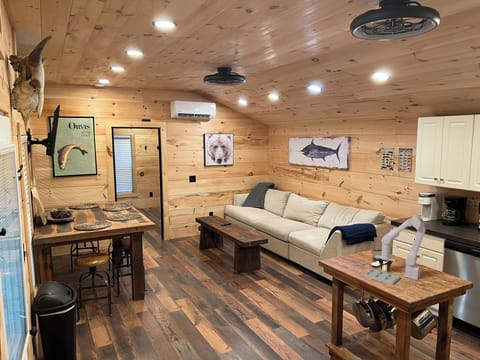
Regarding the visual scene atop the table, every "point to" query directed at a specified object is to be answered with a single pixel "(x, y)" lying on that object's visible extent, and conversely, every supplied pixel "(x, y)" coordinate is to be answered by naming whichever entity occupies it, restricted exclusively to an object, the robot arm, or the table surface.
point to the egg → (384, 268)
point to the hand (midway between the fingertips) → (385, 269)
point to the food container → (376, 253)
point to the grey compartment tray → (382, 276)
